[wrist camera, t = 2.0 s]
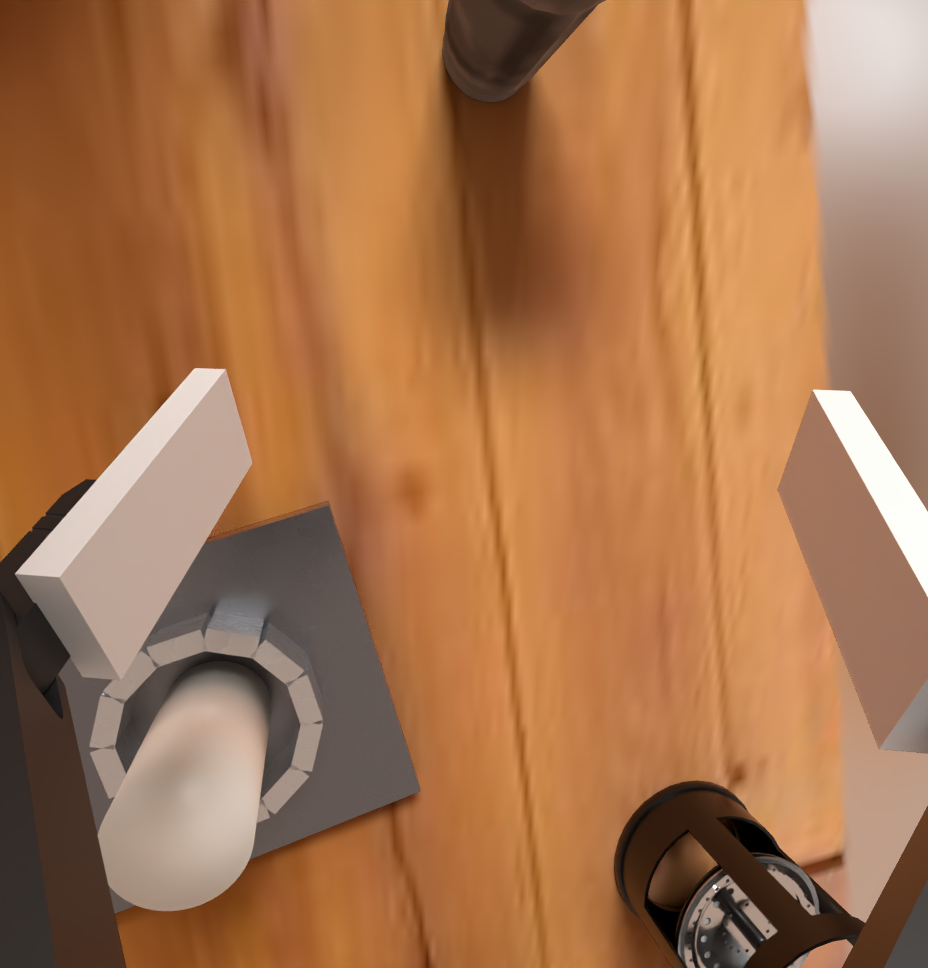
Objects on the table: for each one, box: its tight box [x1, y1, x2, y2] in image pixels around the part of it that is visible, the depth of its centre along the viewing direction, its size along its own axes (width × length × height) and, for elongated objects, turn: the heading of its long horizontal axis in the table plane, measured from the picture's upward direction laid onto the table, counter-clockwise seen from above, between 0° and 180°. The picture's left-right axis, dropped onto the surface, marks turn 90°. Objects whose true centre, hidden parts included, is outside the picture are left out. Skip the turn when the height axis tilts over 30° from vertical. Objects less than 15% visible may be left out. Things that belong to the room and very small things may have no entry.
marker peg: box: [98, 661, 272, 911], centre depth 27 cm, size 5×5×10 cm
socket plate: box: [58, 501, 421, 914], centre depth 30 cm, size 16×30×4 cm, turn 106°
